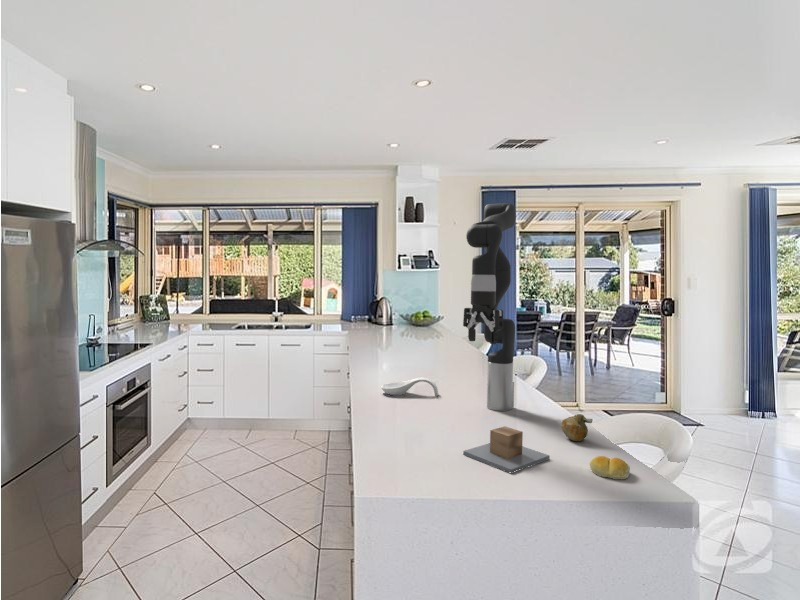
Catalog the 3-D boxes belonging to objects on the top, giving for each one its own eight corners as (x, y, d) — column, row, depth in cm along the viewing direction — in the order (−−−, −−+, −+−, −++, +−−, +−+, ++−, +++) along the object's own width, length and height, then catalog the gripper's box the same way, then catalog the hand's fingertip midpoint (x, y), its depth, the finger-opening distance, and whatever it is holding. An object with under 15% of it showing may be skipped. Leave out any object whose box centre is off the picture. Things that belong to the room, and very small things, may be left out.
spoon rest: (378, 397, 195) (379, 379, 194) (383, 390, 206) (383, 373, 206) (437, 399, 192) (437, 381, 191) (438, 392, 203) (438, 375, 203)
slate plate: (501, 442, 140) (502, 439, 140) (549, 459, 127) (549, 455, 127) (463, 454, 130) (463, 450, 130) (510, 473, 117) (510, 469, 117)
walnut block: (504, 447, 133) (504, 426, 132) (522, 453, 128) (522, 431, 128) (489, 452, 129) (490, 430, 129) (507, 458, 124) (508, 436, 124)
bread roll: (593, 464, 124) (593, 449, 124) (631, 472, 120) (631, 456, 119) (586, 475, 117) (586, 459, 117) (626, 483, 113) (627, 466, 112)
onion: (575, 434, 149) (575, 408, 148) (594, 442, 141) (595, 415, 141) (555, 436, 146) (555, 410, 146) (573, 445, 138) (574, 417, 138)
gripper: (509, 290, 144) (508, 344, 144) (474, 289, 155) (473, 339, 156) (493, 290, 139) (492, 346, 140) (458, 289, 150) (457, 341, 151)
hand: (482, 342), depth 148 cm, fingers open, 8 cm apart
